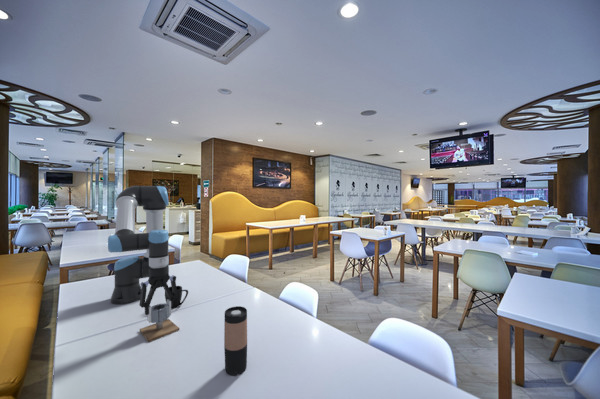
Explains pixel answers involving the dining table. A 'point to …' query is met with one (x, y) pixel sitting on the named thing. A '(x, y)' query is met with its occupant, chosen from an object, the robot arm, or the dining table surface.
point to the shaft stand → (159, 330)
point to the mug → (177, 300)
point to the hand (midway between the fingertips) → (159, 317)
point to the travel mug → (235, 340)
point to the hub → (159, 313)
